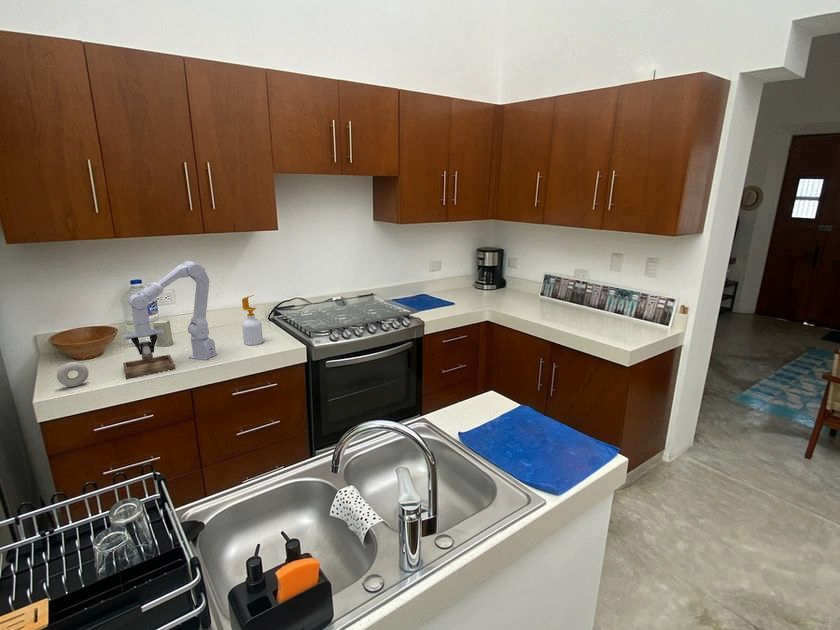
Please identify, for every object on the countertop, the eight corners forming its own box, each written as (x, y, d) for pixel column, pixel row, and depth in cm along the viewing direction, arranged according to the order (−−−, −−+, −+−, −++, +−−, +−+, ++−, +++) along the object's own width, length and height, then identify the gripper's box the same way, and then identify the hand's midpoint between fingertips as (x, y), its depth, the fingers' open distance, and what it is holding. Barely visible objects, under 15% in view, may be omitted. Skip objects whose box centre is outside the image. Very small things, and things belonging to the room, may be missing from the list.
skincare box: (173, 343, 228) (170, 320, 225) (169, 346, 224) (165, 322, 221) (160, 343, 228) (156, 320, 225) (156, 346, 224) (152, 322, 220)
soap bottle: (255, 346, 225) (250, 298, 218) (240, 344, 228) (235, 296, 221) (266, 340, 233) (262, 294, 226) (252, 338, 236) (247, 292, 229)
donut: (60, 391, 175) (54, 367, 172) (59, 388, 178) (53, 364, 175) (91, 383, 182) (86, 360, 179) (90, 381, 184) (85, 358, 181)
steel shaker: (155, 357, 197) (152, 341, 195) (147, 360, 193) (144, 344, 191) (148, 356, 198) (145, 340, 196) (139, 359, 194) (137, 343, 192)
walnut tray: (170, 359, 207) (169, 354, 207) (175, 369, 196) (174, 364, 196) (123, 368, 197) (122, 362, 196) (126, 379, 186) (125, 373, 186)
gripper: (160, 317, 198) (164, 347, 202) (120, 323, 190) (126, 353, 194) (162, 321, 193) (166, 351, 196) (121, 327, 185) (127, 358, 188)
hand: (146, 353), depth 195 cm, fingers closed on steel shaker, 4 cm apart
